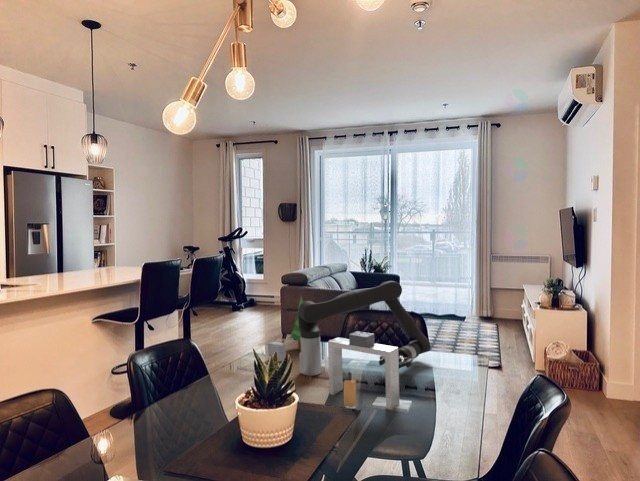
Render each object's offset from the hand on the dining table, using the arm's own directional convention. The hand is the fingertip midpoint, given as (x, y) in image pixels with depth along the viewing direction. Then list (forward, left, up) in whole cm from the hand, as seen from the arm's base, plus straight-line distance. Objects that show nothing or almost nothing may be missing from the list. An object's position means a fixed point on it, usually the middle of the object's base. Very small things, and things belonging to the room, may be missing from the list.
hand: (388, 364), depth 197 cm
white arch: (-4, -22, -7) cm, 23 cm away
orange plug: (-5, -32, -7) cm, 33 cm away
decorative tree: (-59, +29, -8) cm, 66 cm away
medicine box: (-62, +7, -8) cm, 63 cm away
